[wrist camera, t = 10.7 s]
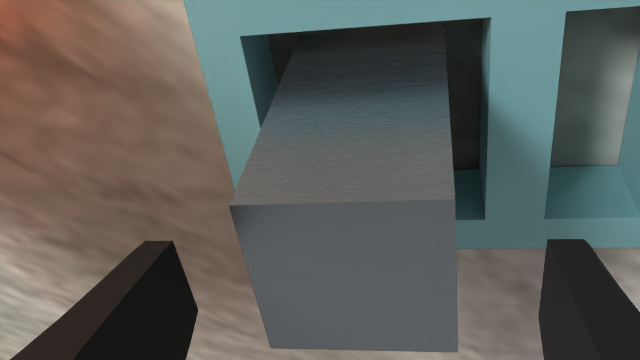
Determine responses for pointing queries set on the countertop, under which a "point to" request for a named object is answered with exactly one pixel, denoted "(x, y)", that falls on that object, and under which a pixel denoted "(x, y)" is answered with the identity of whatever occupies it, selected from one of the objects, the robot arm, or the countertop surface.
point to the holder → (495, 111)
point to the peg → (355, 195)
